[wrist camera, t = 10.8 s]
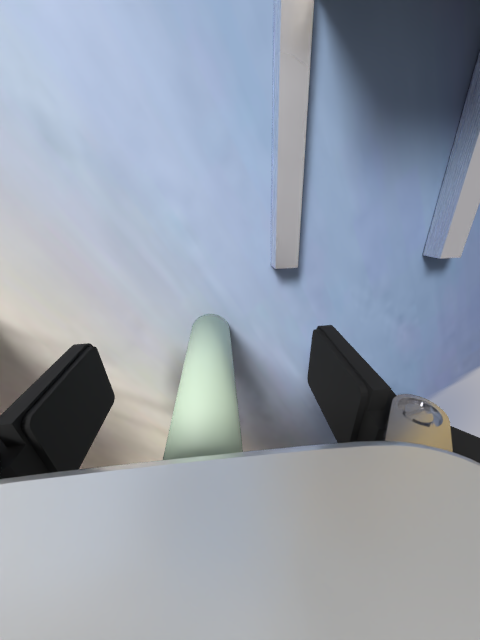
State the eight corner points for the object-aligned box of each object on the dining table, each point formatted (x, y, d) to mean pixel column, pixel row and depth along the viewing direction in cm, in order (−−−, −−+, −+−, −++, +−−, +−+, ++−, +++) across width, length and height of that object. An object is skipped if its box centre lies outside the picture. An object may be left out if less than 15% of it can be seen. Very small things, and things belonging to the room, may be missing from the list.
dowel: (230, 346, 15) (246, 495, 7) (194, 349, 15) (167, 505, 7) (228, 312, 14) (243, 442, 6) (189, 315, 14) (151, 452, 6)
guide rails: (441, 253, 14) (460, 257, 13) (270, 264, 13) (275, 269, 12) (636, -374, 7) (718, -488, 6) (279, -419, 6) (292, -557, 5)
